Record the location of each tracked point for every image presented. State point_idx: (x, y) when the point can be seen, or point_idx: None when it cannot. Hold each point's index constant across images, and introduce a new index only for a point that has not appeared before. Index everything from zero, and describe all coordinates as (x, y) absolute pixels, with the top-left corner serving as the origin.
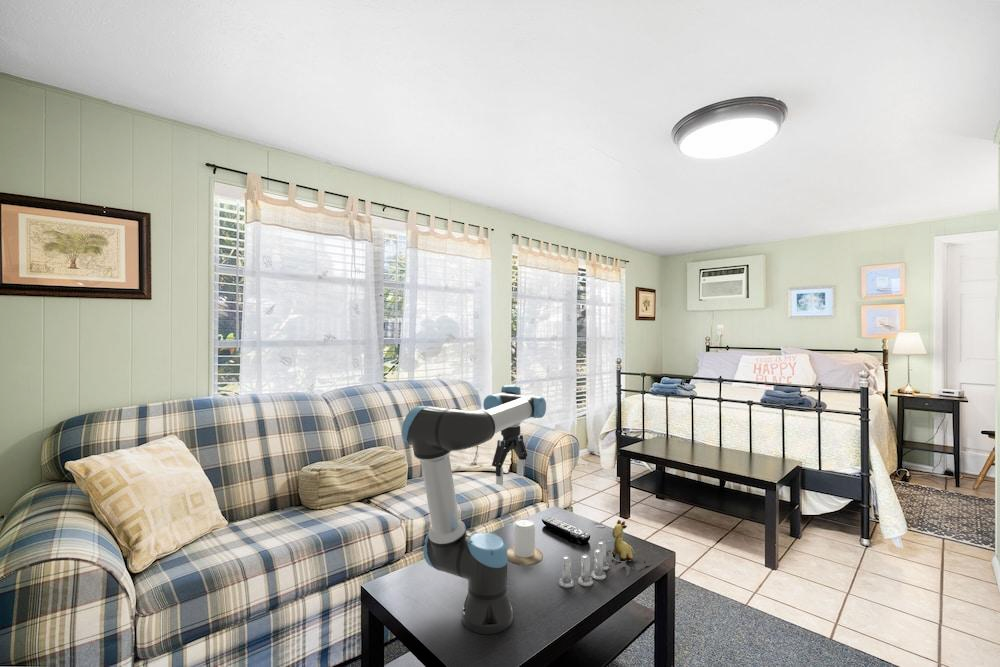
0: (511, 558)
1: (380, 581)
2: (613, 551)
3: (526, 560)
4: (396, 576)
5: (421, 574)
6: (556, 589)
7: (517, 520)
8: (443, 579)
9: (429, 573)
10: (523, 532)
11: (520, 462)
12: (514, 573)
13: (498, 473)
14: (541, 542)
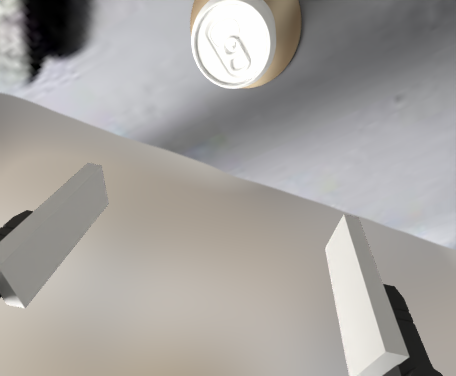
0: (285, 55)
1: (453, 246)
2: None
3: (279, 3)
4: (429, 234)
5: (413, 203)
6: None
7: (225, 84)
8: (428, 159)
9: (406, 193)
10: (274, 26)
11: (30, 260)
12: (358, 5)
13: (407, 316)
14: (143, 18)
